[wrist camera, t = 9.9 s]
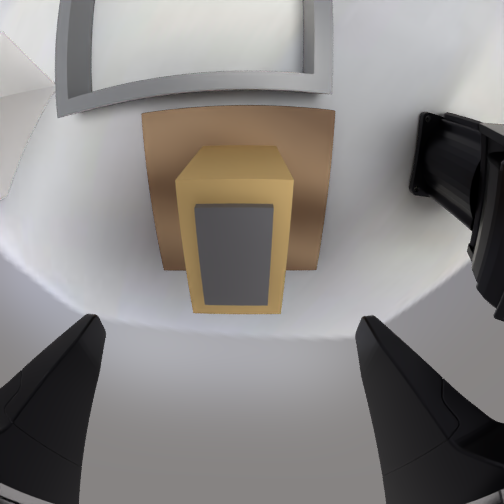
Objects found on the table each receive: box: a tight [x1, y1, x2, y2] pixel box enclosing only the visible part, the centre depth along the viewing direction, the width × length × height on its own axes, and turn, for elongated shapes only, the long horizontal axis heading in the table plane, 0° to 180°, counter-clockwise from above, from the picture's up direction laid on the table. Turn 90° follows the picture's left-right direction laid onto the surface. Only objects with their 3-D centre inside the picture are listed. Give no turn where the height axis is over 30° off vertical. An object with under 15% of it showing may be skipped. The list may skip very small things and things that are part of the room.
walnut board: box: [142, 105, 335, 271], centre depth 18 cm, size 12×12×1 cm
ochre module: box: [175, 145, 294, 314], centre depth 15 cm, size 7×4×7 cm, turn 179°
